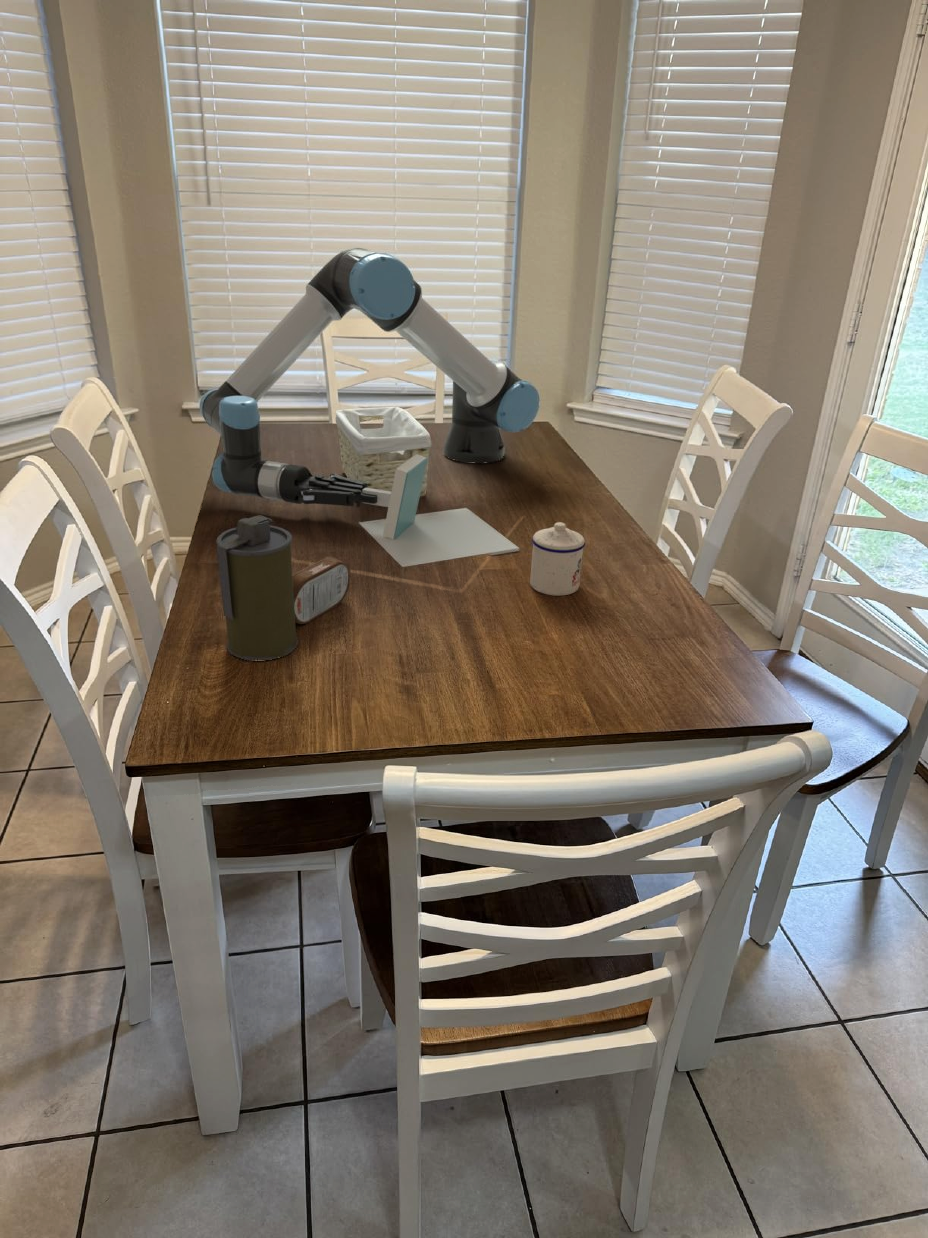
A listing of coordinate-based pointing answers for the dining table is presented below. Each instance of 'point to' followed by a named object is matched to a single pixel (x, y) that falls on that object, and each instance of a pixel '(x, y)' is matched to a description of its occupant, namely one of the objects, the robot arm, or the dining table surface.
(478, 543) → the mat
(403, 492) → the tile
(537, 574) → the teacup with lid
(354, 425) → the storage basket
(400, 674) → the dining table surface
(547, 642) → the dining table surface
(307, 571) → the tin
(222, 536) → the canister
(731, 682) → the dining table surface
